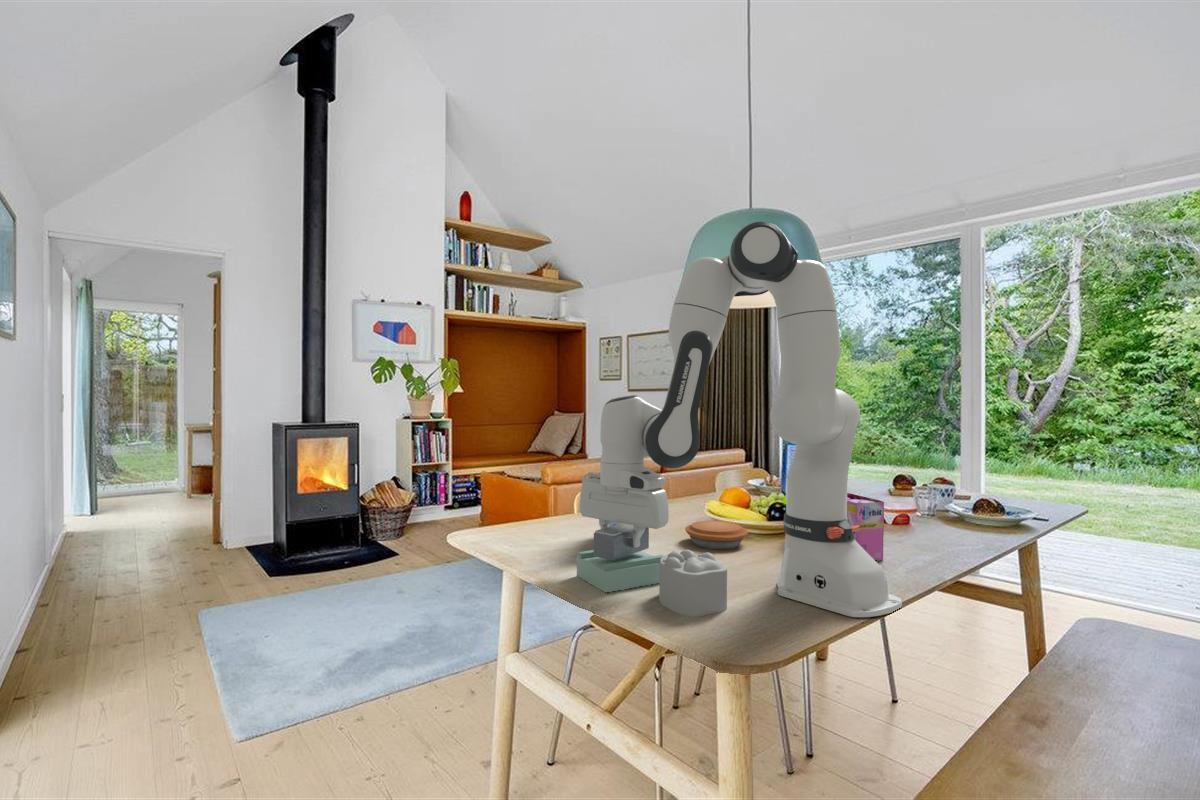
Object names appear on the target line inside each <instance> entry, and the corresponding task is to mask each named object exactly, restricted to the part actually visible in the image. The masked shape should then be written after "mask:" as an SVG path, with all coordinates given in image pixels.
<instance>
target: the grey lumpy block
mask: <svg viewBox="0 0 1200 800" xmlns="http://www.w3.org/2000/svg"><path fill="white" fill-rule="evenodd" d="M658 585H659V587H658V588H659V591H658V592H659V593H658V594H659V596H658V597H659V598H658V601H659V600H660V601H659V603H660V604H661V603H662V604H663V605H662V604H661V605H662V606H664V607H666V608H667V609H669V610H670V611H673V612H674V613H676V614H678V615H681V616H685V617H692V618H693V617H702V616H705V615H709V614H717V613H723V612H725V611H727V610H728V567H727V566H726V565H725V564H723V563H721V562H719V561H717V560H716V558H715V556H714V555H713V553H711V552H703V553H701V554H698V555H696V554H695V553H694V552H693V551H692V550H690V549H684V550H682V551H681V552H678V551H672V552H670V553H668V554H665V555H663V557H662V558H661V559H660V578H659V584H658Z"/></svg>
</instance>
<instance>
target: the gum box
mask: <svg viewBox="0 0 1200 800" xmlns="http://www.w3.org/2000/svg"><path fill="white" fill-rule="evenodd" d="M847 517H848V518H849V521H850V523H851V526H856V525H859V526H860V527H858V528H856V529H855V530H860V531H857V532H854V535H855V541H856V542H857V543H858V544H859V545H860V546H861V547H862V548H863V549H864V550H865V551H866V552H867V553H868V554H869V555H870V556H871V557H872V558H873V559H874V560H880V561H884V536H885V535H884V531H885V528H884V527H885V522H884V521H885V519H884V518H885V502H884V501H883V500H880V499H876V498H872V497H871V498H870V497H867V496H864V495H863V496H862V495H858V494H854V493H851V492H847Z"/></svg>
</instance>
